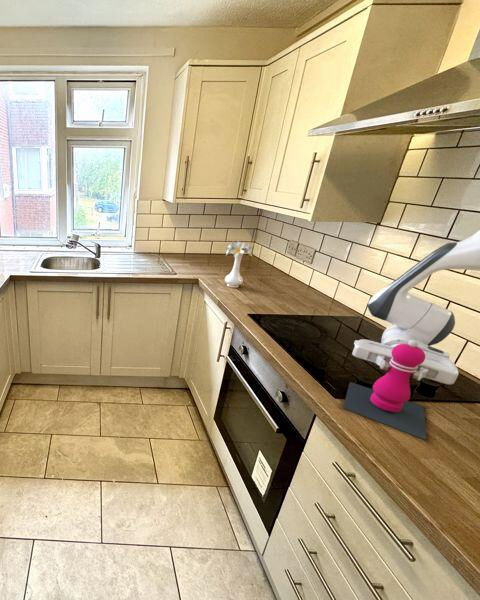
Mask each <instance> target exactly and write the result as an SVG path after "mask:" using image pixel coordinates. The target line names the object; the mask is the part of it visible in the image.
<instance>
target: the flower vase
mask: <svg viewBox="0 0 480 600" xmlns="http://www.w3.org/2000/svg"><path fill="white" fill-rule="evenodd" d="M226 249H227V250H226V252H225V257H227V256H228V255H229V254H232V255H233V257H234V262H233V267H232V270H231V271H230V273H229V274H227V275H226V276H225V278H224V282H225V283H226V287H229V288H234V289H235V288H239V287H240V286H241V285H242V284H243V283H244V279H243V276H242V275H241V273H240V268H241V267H240V266H241V262H242V258H243V256H244V255H245V254H244V253H246V254H248V255H249V256H250V257H253V254H252V252H253V249H252V246H251V244H250V242H249V243H248V245H247V244H246V242H245V241H244V242H241V241H239V240H238V241H236V242H235V240H233V241H232V242H230V244H229V245H228V246H226Z"/></svg>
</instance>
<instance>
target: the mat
mask: <svg viewBox="0 0 480 600" xmlns="http://www.w3.org/2000/svg"><path fill="white" fill-rule="evenodd" d="M348 383H349V384H348V388H347V392H346V395H345V400H344V404H343V407H342V408H343V409H344V410H347V411H349V412H352V413H354V414H357V415H360V416H361V417H364V418H367V419H370V420H372V421H375V422H378V423H380V424H383V425H385V426H388V427H391V428H392V429H396V430H399V431H401V432H403V433H405V434H409V435H411V436H414V437H417V438H419V439H421V440H423V441H427V440H428V439H427V430H426V419H425V418H426V417H425V408H424V406H422V405H420V404H418V403H417V404H416V403H413V402H412V401H411V402H410V401H409V400H408V401H406V402H404V403H402V404H403V406H402V408H401V410H400V411H399V412H390V411H387V410H384V409H381V408H379V407H377V406H376V405H374V404H373V403H372V402H371V400H370V398H371V395H372V393H374V390H373V388H370V387H368V386H367V387H366V386H363V385H361V384H357V383H356V382H352V381H349V382H348Z"/></svg>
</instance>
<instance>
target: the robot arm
mask: <svg viewBox="0 0 480 600" xmlns="http://www.w3.org/2000/svg"><path fill="white" fill-rule="evenodd" d="M445 270H446V271H447V270H465V271H477V272H480V229H479V230H478V231H476V232H475V233H474V234H472V235H471V236H469V237H467V238H465V239H462V240H460V241H457V242H447V243H445V244H443V245H441V246H439V247H437V248H436V249H434V250H433V251H432V252H431V253H429V254H428V255H426V256H425V257H424V258H422V259H421V260H420V261H418V262H417V263H416V264H414V265H413V266H412V267H410V268H409V269H408V270H406V271H405V272H404V273H403V274H401V275H400V276H399V277H398V278H396V279H395V280H393V281H392V282H390V283H389V284H388V285H387V286H385V287H384V288H381V289H380V290H378V291H377V292H375V293H374V294H373V295H372V296H371V298H369V300H368V302H367V308H368V311H369V313H370V315H371V316H372V317H374V318H377V319H380V320H381V321H385V322H388V323H390V324H389V325H388V326H387V327H386V328H385V329H384V331H383V333H382V335H381V338H380V342H377V341H374V340H369V339H367V338H366V339H365V338H362V339H359V340H357V339H356V340H354V341H353V345H354V347H353V350H352V353H351V355H352V356H353V357H354V358H357V359H360V360H364V361H367V362H370V363H373V364H375V365H377V366H379V369H380V370H383V371H387V372H388V371H389V369H390V366H391V365H390V361H391V359H392V358H393V356H392V354H391V352H392V350H393V348H394V347H395V346H397V345H399V344H408V342H409V341H411V340H415V341H417V342H418V346H417V347H419V348H420V349H422V350H423V351H424V353H425V360H424V362H423V363H421V364H419V365H417V366H418V368H417V369H416V371H415V372H412V374H411V379H413V380H416V381H421V380H422V379H428V380H432V381H434V382H438V383H441V384H444V385H453V384H455V382H456V381H457V378H458V377H459V369H458V367H457V365H456V363H455V362H454V361H453V360H452V359H450V356H451V355H450V353H448V352H446V351H444V350H442V349H438V348H436V347H433V346H435V345H437V344H439V343H441V342H442V341H444V340H446V338H447V337H448V336H449V335H450V334H451V333H452V332H453V330H454V328H455V326H456V318H455V313H453V311H452V310H450V309H447V308H445V307H443V306H440V305H438V304H436V303H434V302H431V301H429V300H426V299H423V298H421V297H419V296H416V295H414V294H411V293H410V292H409V291H411V290H412V289H414V288H415V287H416V286H418V285H419V284H420V283H422V282H423V281H425V280H426V279H427V278H429V277H430V276H431V275H433V274H434V273H437V272H441V271H445Z"/></svg>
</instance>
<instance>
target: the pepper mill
mask: <svg viewBox="0 0 480 600" xmlns="http://www.w3.org/2000/svg"><path fill="white" fill-rule="evenodd" d="M417 346H418V342H417V341H415V340H411V341H409V342H408V344H399V345H397V346H395V347H394V348H393V350H392V352H391V354H392V356H393V358H392V359H391V361H390V365H391V366H390V367H389V368H388V370H387V372H386V373H385V374H384V375H383V376H381V377H379V378H378V379H377V380H376V381H374V383H373V385H372V389H373V390H374V393H372V395H371V398H370V400H371V402H372V403H373V404H374V405H376V406H377V407H379V408H381V409H384V410H387V411H390V412H399V411H400V410H401V408H402V406H403V404H402V403H404V402H406V401H408V402H409V400H410V398H411V393H412V392H411V385H410V378H411V377H412V372H415V371H416V369H417V368H418V366H417V365H419V364H421V363H423V362H424V360H425V353H424V351H423V350H422V349H420V348H419V347H417Z"/></svg>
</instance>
